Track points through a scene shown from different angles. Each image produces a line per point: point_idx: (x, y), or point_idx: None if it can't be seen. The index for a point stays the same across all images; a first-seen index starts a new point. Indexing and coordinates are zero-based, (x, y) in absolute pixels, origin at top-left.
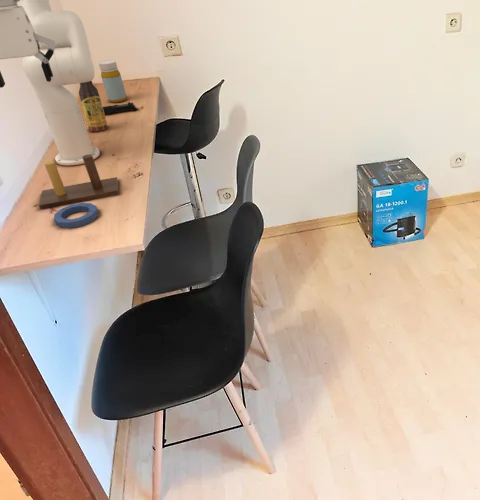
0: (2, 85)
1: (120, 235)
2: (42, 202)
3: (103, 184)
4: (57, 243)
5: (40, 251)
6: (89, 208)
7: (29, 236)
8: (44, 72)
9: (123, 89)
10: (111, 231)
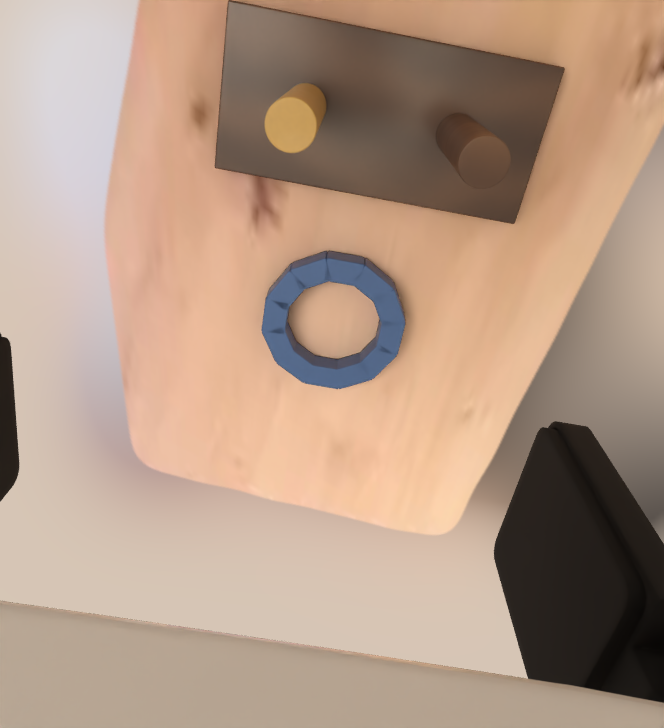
0: (7, 488)
1: (421, 484)
2: (227, 149)
3: (485, 120)
4: (261, 432)
5: (216, 446)
6: (381, 327)
7: (185, 349)
8: (527, 640)
9: None
10: (406, 453)
